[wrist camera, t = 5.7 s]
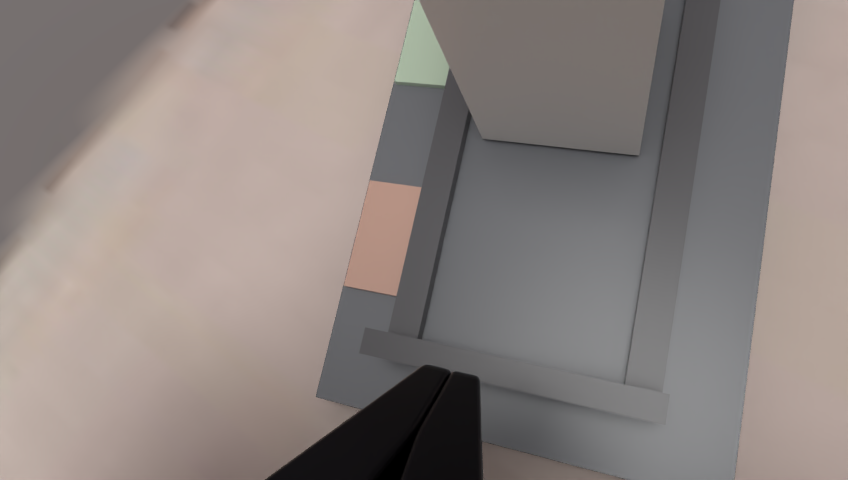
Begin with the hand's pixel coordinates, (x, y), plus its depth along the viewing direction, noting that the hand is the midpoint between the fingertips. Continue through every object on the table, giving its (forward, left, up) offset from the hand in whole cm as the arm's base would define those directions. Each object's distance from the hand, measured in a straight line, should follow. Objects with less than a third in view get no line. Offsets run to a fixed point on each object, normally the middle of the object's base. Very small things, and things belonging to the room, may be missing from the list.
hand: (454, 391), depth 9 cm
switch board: (+5, +3, -7) cm, 9 cm away
